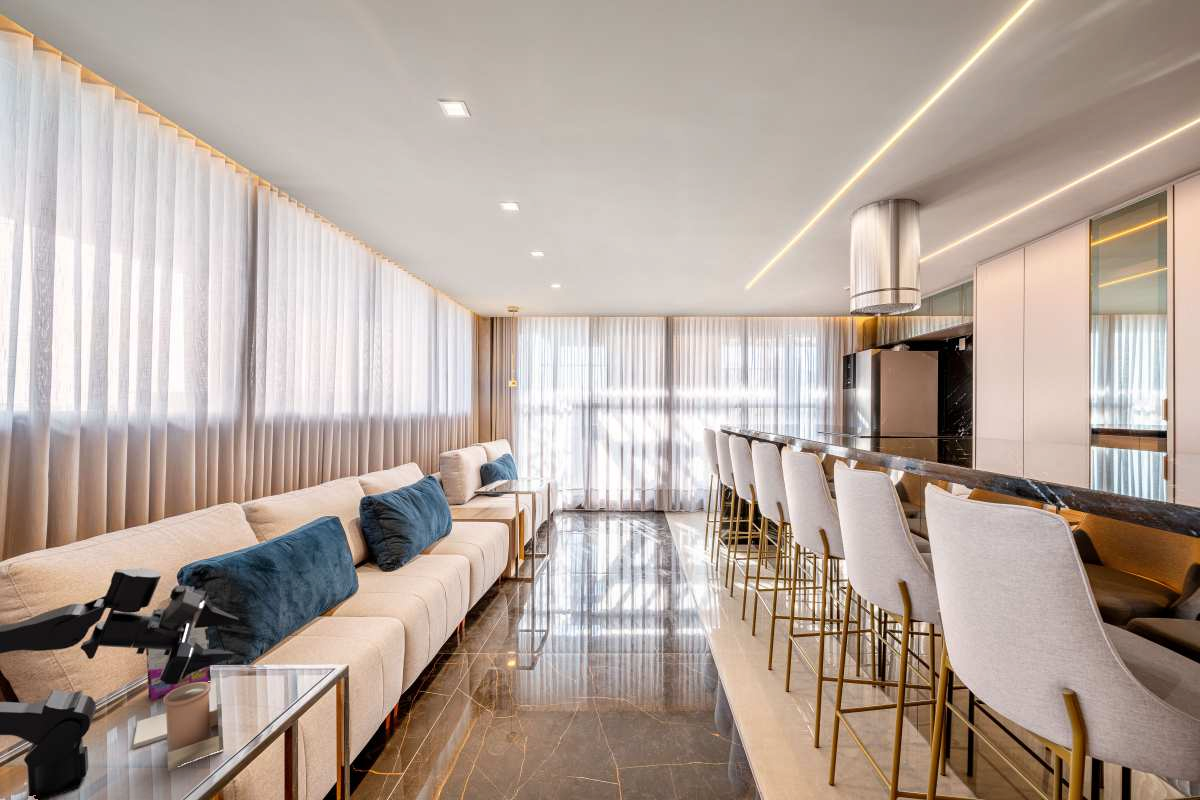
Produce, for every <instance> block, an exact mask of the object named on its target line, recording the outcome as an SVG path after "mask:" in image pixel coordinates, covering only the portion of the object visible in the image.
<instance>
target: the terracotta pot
mask: <svg viewBox="0 0 1200 800" xmlns="http://www.w3.org/2000/svg"><path fill="white" fill-rule="evenodd" d="M211 689H212V688H211V684H210V683H207V682H196V683H191V684H187V685H184V686H181V687H179V688H176V689H174V690H172V691H171V692H169V693H168V694H167V695H165V697H163V701H162V702H163V705H164V706H165V713H166V720H167V738H166V739H167V740H166V741H167V753H168V752H171V751H174V750H177V749H180V748H183V747H186V746H189V745H192V744H195V743H198V742H201V741H204V740H207V739H210V738H212V736H211V735H212V731H211V727H210V710H211V709H210V691H211Z"/></svg>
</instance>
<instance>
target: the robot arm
mask: <svg viewBox="0 0 1200 800" xmlns="http://www.w3.org/2000/svg"><path fill="white" fill-rule="evenodd" d="M162 576H163V574H162V573H161V572H160V571H157V570H154V569H149V568H145V567H144V568H143V567H142V568H141V567H139V568H129V569H115V571H114V573H113V575H112V577H111V581H110V585H109V587H108V590H107V592H106V594H105V595H104V596H101V597H99V598H95V599H94V600H91V601H88V602H86V603H83V604H82V603H72V604H68V605H67V604H66V605H65V606H62V607H58V608H55V609H52V610H51V609H50V610H48V611H45V612H43V613H40V614H37V615H35V616H32V617H30V618H28V619H24V620H22V621H21V620H20V621H19V622H14V623H9V624H2V625H0V654H4V653H10V652H15V651H16V652H18V651H26V652H27V651H31V652H45V651H53V650H54V651H55V650H56V651H57V650H64V649H69V648H71V647H74V646H76V645H77V644H79V643H80V642H81V641H82V640H83V639H85V637H86V635H87V634H88V632H89V630H90V629H91V628H92V627H93V626H94V625H95V626H94V628H93V631H92V633H91V635H90V638H89V639H87V640H86V641H83V642H82V644H80V650H82V651H83V652H84V653H85V655H86V656H87V658H88V659H89V660H92V659H94V658H95V655H96V653H97V651H98V649H99V647H105V648H106V647H107V648H108V647H110V648H111V647H112V648H127V649H137V651H136V653H135V654H138V655H143V654H144V653H145V652H146V649H159V650H165V653H164V655H168V657H167V660H166V662H165V664H164V667H163V670H162V673H161V677H160V681H161V682H162V683H163V684H177V683H178V681H179V679H180V677H181V679H184V678H185V676H186V675H188V674H191V673H193V672H195V671H198V670H200V669H202V668H205V667H208V666H210V667H211V666H213V665H216V664H219V663H222V662H224V661H228V660H231V659H232V658H233V657H234V654H235V653H234V652H232V651H228V650H221V649H212V648H211V649H210V648H209V649H204V648H202V647H201V646H200V645H199V644H198V643H196V642H195V644H194V646H193V648H191V647H192V646H191V645H190V644H189V643H188V639H189V635H190V631H191V627H192V624H193V623H195V626H194V628H202V627H208V628H210V627H211V628H212V627H223V626H234V625H237V624H239V622H240V618H238V617H237V616H235V615H233V614H230V613H227V612H225V611H223V610H221V609H220V608H218V607H215V606H214V605H213V604H212V602H211V601H210V595H209V596H208V595H206V592H207V591H206V590H201V589H200V590H198V589H196V588H195V586H190V585H176V586H175V587H174V588H173V589H172V590H171V591H170V592H171V593H170V595H169V598H170V599H171V600H170V601H169V605H168V606H166V608H156V609H153V612H152V613H151V614H148V613H137V612H140V611H141V609H143V608H147V607H149V606H150V603H151V601H152V600H153V599H152V598H153V596H154V594H155V591H156V590H157V587H158V584H159V582H160V580H161V578H162ZM107 609H110V610H109V613H108V615H107V617H106V619H105V620H102V621H100V620H101V619H102V617H103V615H104V613H105V611H106V610H107ZM99 621H100V622H99ZM182 628H183V630H182ZM180 637H181V638H180ZM181 674H182V676H181ZM96 710H97V704H96V702H95V700H94V699H93V697H92V696H90V695H86V694H83V690H78V691H75V692H74V691H73V692H72V691H71V692H70V691H63V690H51V693H49V696H48V698H46V699H42V700H40V701H39V700H38V701H35V702H12V701H0V736H11V737H17V738H19V739H22V740H23V741H26V742H28V743H30V744H31V745H30V747H29V749H28V751H27V753H26V755H25V757H24V759H23V761H24V763H25V764H26V766H27V780H28V781H27V783H28V795H29V796H33V795H36V796H34V798H35V799H38V800H46V799H49V798H51V797H55V796H57V795H60V794H62V793H67V792H69V791H73V790H75V789H77V788H79V787H81V786H82V784H83V783H82V782H83V779H84V778H85V777H87V775H88V774H87V773H88V771H89V755H88V751H89V750H88V746H87V745H84V744H83V743H84V742H83V737H85V735H86V734H87V733H88V731H89V729H90V727H91V724H92V722H93V719H94V717H95V713H96Z"/></svg>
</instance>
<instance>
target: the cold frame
mask: <svg viewBox="0 0 1200 800" xmlns="http://www.w3.org/2000/svg"><path fill="white" fill-rule="evenodd" d="M220 679H221V678H220V677H217V678H215V690H216V692H215V693H216V708H214V709H213V708H212V709H210V728H212V727H214V726H217V731H218V732H217V733H218V735H217V736H213V737H211V738H210V739H207V740H204V741H201V742H198V743H195V744H192V745H189V746H186V747H183V748H180V749H177V750H174V751H171V752H168V751H167V771H168V772H170V770H171V771H173V770H176V769H178V768H177V767H178V766H181V765H182V764H184V763H187V762H190V761H193V760H195V759H197V758H200V757H203V756H206V755H209V754H211V753H214V752H217V751H220V750H222V749H223V750H224V732H223V731H224V729H223V710H222V709H223V708H222V705H223V704H222V692H221V682H220V681H221V680H220ZM175 768H176V769H175Z"/></svg>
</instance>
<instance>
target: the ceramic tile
mask: <svg viewBox="0 0 1200 800" xmlns="http://www.w3.org/2000/svg"><path fill="white" fill-rule="evenodd" d="M133 739H134V740H133V747H132V748H133V749H136V748H140V747H143V746H146V745H149V744H152V743H154V742H158V741H160V740H164V739H167V720H166V712H165V713H161V714H159V715H154V716H150V717H149V718H145V719H141V720H138V721H137V724H136V729H135V732H134V738H133Z"/></svg>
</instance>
